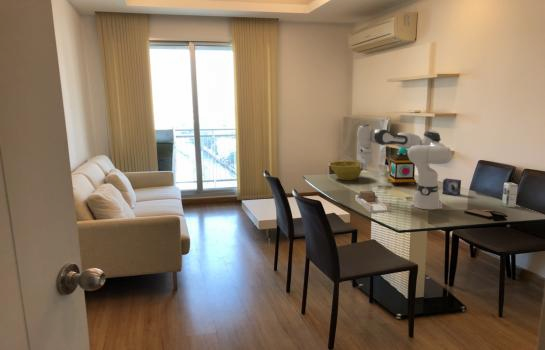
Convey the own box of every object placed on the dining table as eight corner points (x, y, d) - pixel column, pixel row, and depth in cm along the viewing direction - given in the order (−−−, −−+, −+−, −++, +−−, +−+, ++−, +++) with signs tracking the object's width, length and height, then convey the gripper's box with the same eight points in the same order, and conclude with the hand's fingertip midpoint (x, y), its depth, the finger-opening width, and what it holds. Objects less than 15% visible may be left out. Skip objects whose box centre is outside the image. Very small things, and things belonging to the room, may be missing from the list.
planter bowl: (324, 176, 353) (324, 161, 350) (359, 174, 356) (359, 159, 354) (334, 183, 321) (334, 167, 319) (372, 181, 325) (372, 165, 322)
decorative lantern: (418, 186, 304) (420, 148, 298) (392, 186, 304) (393, 148, 299) (409, 181, 324) (411, 145, 318) (385, 181, 324) (386, 145, 318)
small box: (441, 194, 279) (442, 179, 277) (445, 192, 284) (446, 178, 282) (457, 196, 272) (458, 181, 270) (460, 194, 277) (461, 179, 275)
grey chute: (355, 200, 268) (355, 194, 267) (372, 199, 269) (372, 193, 268) (370, 212, 239) (370, 205, 238) (389, 211, 240) (389, 204, 239)
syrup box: (501, 204, 248) (503, 182, 245) (510, 204, 248) (512, 182, 245) (506, 207, 243) (508, 184, 240) (516, 207, 242) (518, 184, 240)
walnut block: (359, 199, 264) (360, 191, 263) (371, 199, 265) (371, 190, 264) (362, 202, 258) (362, 193, 257) (374, 201, 259) (375, 192, 258)
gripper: (354, 147, 274) (354, 166, 277) (364, 150, 254) (363, 171, 257) (363, 146, 275) (362, 166, 277) (373, 150, 255) (372, 171, 257)
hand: (363, 168), depth 267 cm, fingers open, 5 cm apart
